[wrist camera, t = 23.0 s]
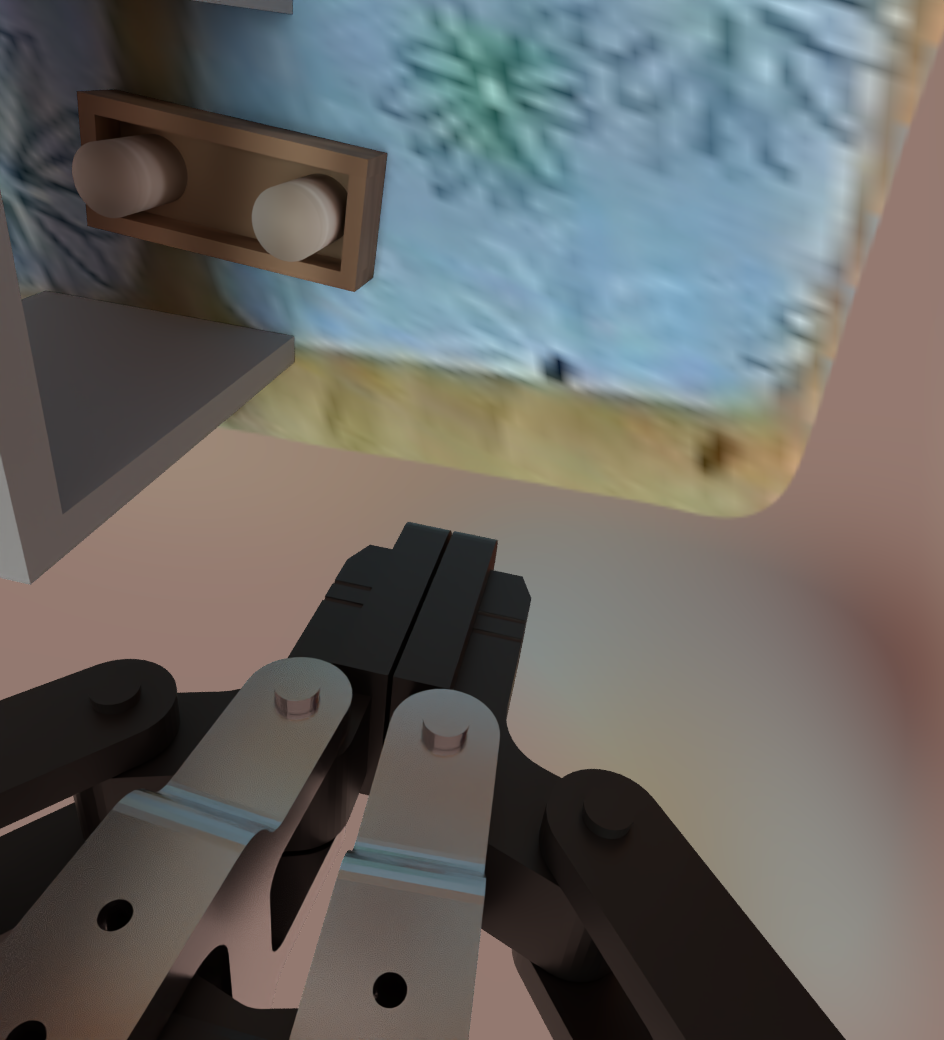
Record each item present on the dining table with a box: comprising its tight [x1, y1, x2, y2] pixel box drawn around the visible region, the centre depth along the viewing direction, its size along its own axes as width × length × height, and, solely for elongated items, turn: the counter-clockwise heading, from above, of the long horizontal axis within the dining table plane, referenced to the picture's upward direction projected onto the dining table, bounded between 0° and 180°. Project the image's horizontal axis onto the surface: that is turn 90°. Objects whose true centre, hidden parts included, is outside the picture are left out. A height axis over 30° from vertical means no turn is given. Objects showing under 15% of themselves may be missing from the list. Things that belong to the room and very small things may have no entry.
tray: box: [72, 89, 387, 292], centre depth 37 cm, size 14×6×5 cm, turn 79°
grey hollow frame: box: [0, 0, 294, 584], centre depth 30 cm, size 15×18×22 cm
